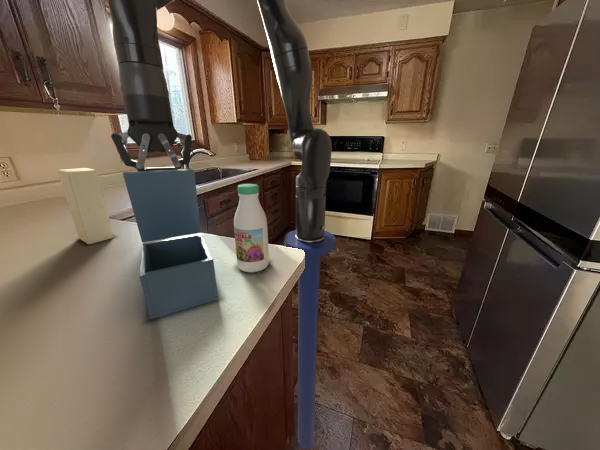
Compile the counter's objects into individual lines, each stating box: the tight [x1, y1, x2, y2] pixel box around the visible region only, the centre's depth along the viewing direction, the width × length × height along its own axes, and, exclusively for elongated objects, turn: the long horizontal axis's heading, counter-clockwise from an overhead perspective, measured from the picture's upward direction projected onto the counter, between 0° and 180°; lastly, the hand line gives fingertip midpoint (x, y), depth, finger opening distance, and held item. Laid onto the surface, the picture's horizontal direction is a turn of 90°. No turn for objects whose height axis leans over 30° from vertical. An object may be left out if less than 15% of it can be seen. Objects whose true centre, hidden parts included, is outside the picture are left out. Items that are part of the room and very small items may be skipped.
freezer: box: [138, 233, 219, 320], centre depth 50 cm, size 15×12×9 cm
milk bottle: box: [233, 183, 270, 273], centre depth 57 cm, size 8×8×20 cm
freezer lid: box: [122, 166, 202, 243], centre depth 51 cm, size 15×12×5 cm
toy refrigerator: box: [57, 167, 114, 245], centre depth 73 cm, size 8×7×21 cm
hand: (163, 185), depth 51 cm, fingers closed on freezer lid, 5 cm apart
